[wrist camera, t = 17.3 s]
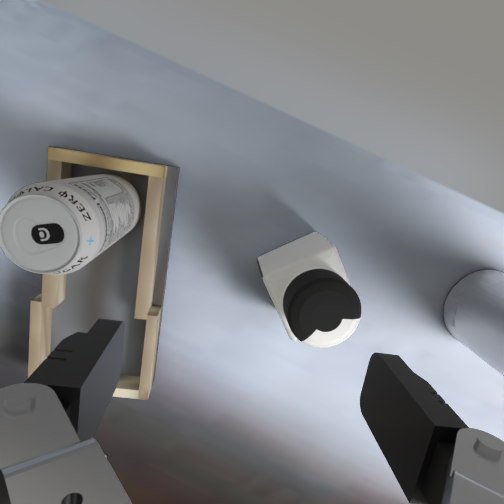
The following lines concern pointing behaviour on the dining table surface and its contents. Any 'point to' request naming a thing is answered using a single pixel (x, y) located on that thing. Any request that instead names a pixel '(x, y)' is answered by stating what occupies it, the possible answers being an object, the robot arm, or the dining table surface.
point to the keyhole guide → (113, 273)
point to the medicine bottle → (311, 291)
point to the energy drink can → (67, 222)
